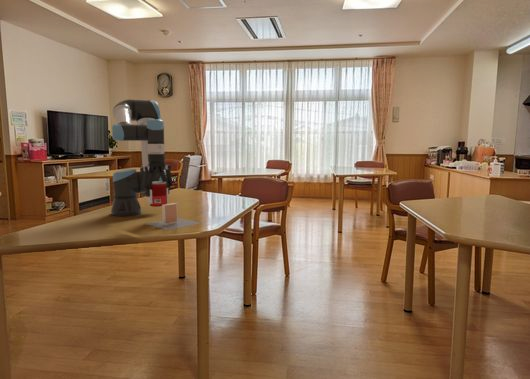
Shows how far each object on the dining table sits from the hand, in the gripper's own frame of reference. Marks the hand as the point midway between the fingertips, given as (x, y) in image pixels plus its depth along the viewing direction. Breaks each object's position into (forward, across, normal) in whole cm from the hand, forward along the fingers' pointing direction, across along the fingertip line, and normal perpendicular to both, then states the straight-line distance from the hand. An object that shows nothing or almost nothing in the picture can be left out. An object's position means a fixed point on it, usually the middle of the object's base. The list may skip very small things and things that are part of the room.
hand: (158, 202), depth 173 cm
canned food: (+2, 0, 0) cm, 2 cm away
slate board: (+10, +1, -10) cm, 14 cm away
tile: (+9, 0, -9) cm, 12 cm away
